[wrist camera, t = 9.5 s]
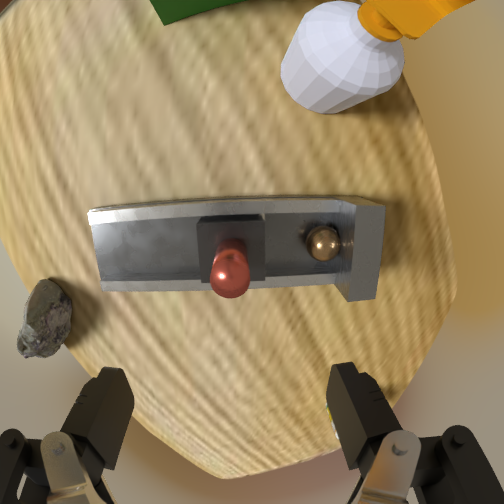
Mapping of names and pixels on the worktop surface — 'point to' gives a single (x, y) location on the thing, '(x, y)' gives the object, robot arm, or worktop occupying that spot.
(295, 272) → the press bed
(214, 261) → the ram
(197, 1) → the hardback book
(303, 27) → the soap bottle
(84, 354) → the worktop surface
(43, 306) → the mineral rock
